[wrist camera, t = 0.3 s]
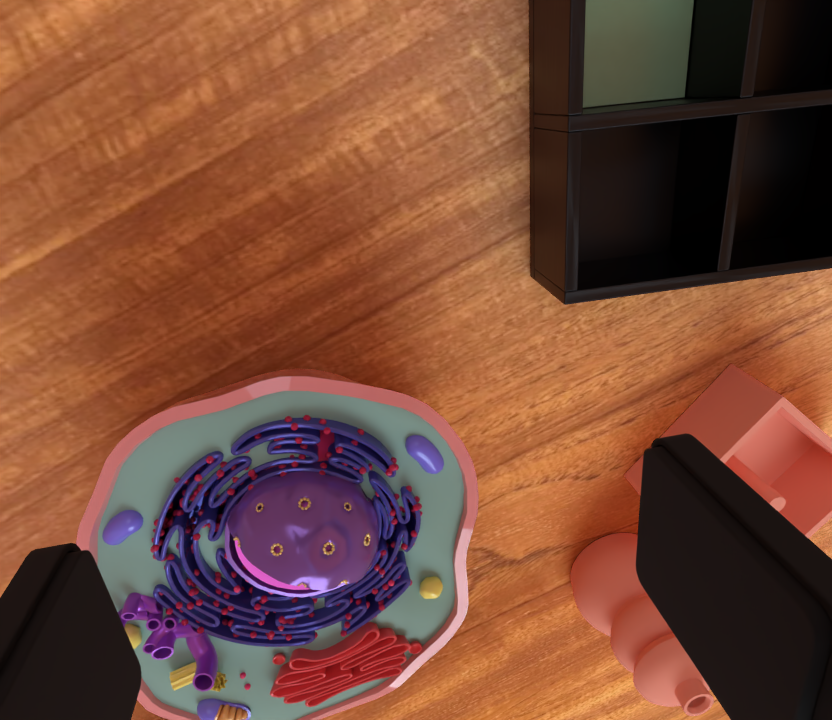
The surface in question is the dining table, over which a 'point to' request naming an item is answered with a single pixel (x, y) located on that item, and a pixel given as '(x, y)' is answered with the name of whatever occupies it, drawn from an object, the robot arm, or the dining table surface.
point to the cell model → (284, 545)
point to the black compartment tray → (678, 143)
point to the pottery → (757, 466)
